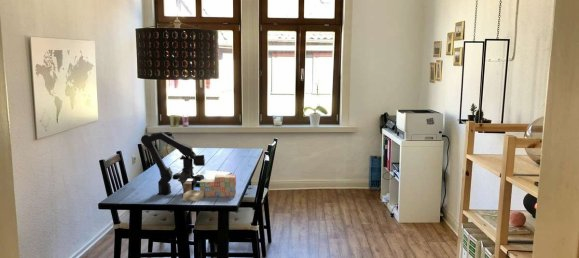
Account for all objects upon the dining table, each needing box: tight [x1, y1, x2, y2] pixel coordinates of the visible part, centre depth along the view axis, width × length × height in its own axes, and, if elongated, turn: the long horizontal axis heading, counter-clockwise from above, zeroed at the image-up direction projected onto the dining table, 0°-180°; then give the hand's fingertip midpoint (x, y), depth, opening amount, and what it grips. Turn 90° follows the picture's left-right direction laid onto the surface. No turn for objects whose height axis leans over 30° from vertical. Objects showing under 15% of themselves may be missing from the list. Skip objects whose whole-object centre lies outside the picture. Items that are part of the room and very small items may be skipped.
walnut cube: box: [182, 181, 192, 194], centre depth 282 cm, size 5×5×6 cm
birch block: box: [182, 189, 205, 202], centre depth 271 cm, size 9×9×4 cm
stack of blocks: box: [199, 174, 237, 198], centre depth 277 cm, size 21×6×12 cm, turn 90°
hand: (188, 190), depth 282 cm, fingers closed on walnut cube, 5 cm apart
